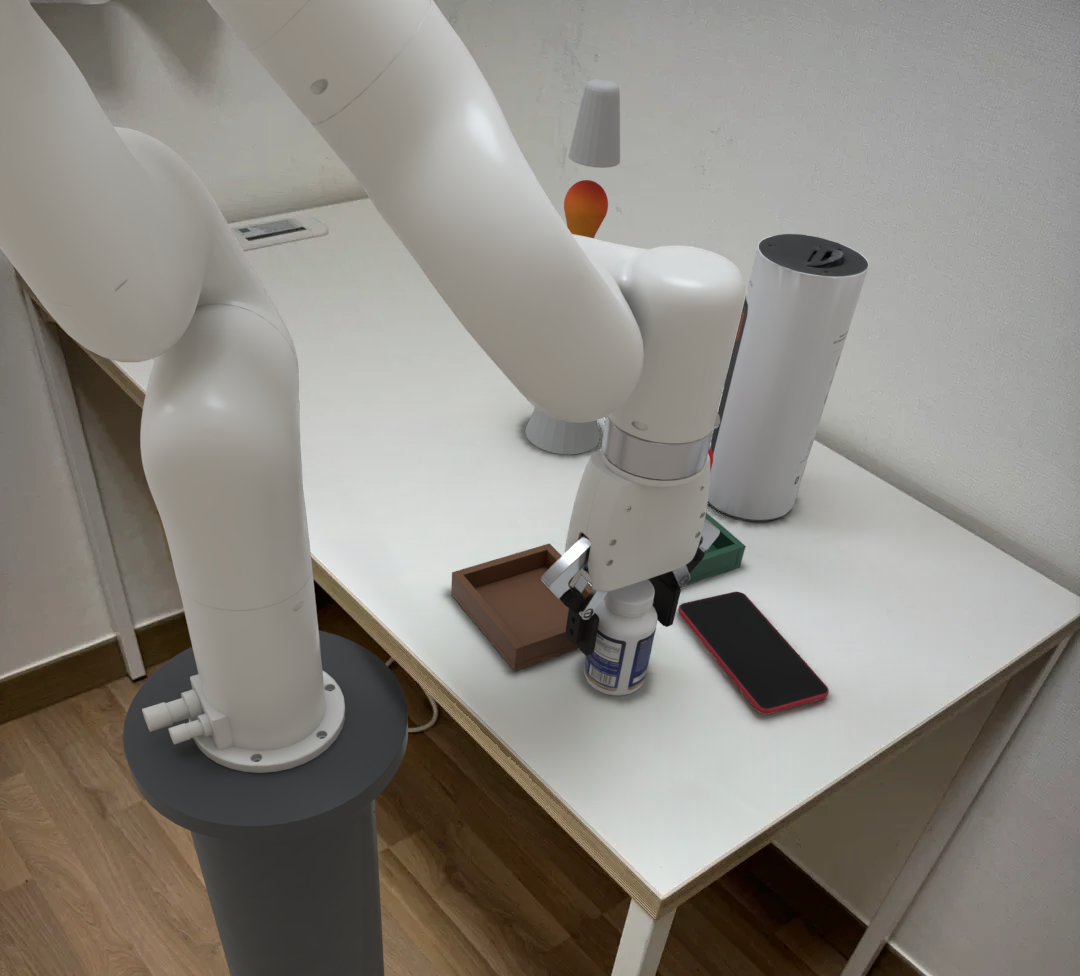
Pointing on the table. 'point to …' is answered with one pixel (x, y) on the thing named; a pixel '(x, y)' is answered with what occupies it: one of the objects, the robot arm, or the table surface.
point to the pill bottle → (623, 640)
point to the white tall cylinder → (781, 371)
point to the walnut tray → (516, 605)
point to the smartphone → (753, 652)
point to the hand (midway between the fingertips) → (619, 629)
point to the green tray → (718, 555)
